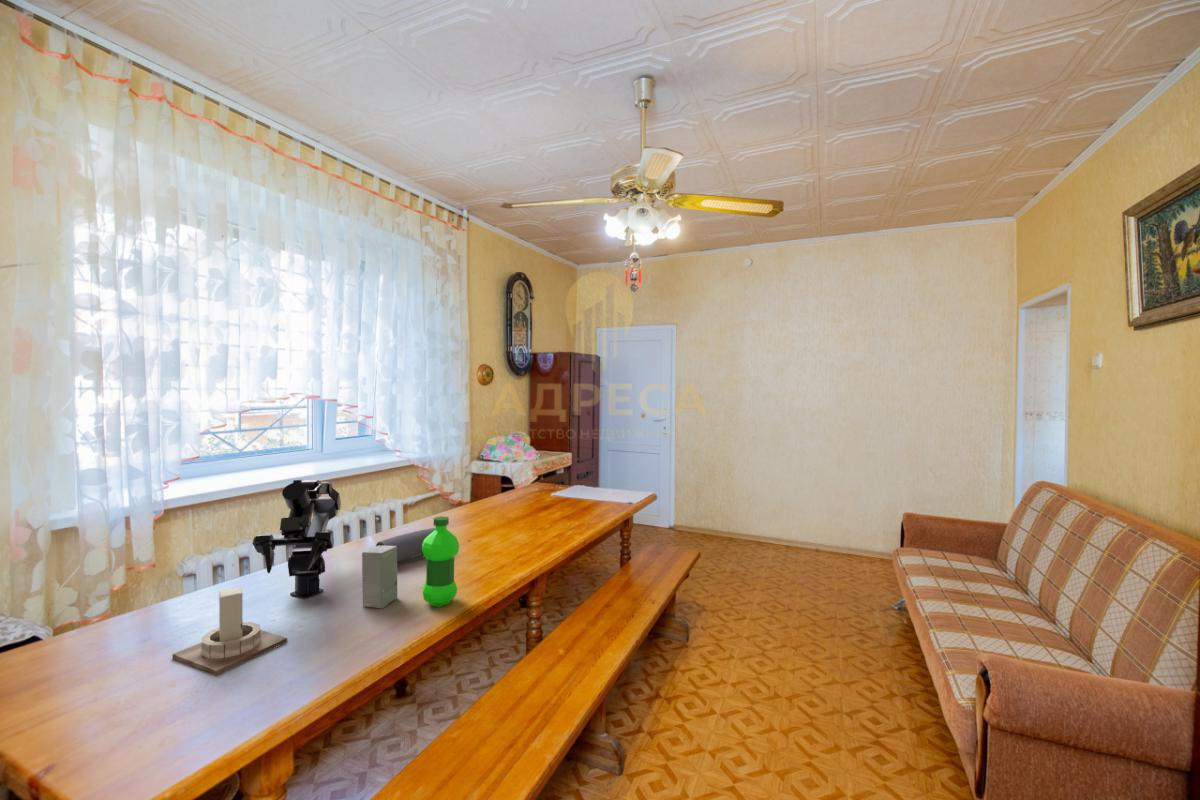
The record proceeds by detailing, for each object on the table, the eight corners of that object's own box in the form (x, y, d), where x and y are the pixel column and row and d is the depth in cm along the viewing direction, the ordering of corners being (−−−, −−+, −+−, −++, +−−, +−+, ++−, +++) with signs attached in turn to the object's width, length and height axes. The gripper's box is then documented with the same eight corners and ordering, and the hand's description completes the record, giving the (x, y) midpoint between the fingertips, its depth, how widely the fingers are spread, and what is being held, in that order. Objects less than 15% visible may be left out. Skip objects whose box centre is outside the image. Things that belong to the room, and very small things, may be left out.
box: (243, 647, 120) (243, 593, 120) (219, 652, 117) (220, 597, 117) (241, 638, 124) (241, 586, 124) (218, 643, 122) (219, 590, 121)
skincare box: (382, 609, 144) (382, 553, 144) (359, 606, 146) (360, 551, 145) (399, 597, 153) (399, 545, 152) (377, 595, 154) (378, 543, 153)
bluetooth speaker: (428, 550, 197) (429, 524, 196) (444, 555, 191) (444, 528, 191) (373, 566, 178) (373, 537, 178) (388, 572, 173) (388, 542, 172)
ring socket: (172, 658, 117) (172, 641, 116) (244, 628, 131) (244, 613, 131) (216, 675, 110) (216, 657, 110) (286, 642, 125) (287, 625, 125)
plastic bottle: (438, 613, 142) (439, 525, 142) (413, 604, 148) (414, 518, 147) (465, 601, 151) (466, 517, 150) (440, 593, 156) (442, 512, 156)
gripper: (255, 505, 137) (238, 560, 127) (331, 502, 143) (322, 554, 132) (265, 526, 145) (250, 579, 135) (337, 522, 150) (328, 573, 140)
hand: (288, 571), depth 135 cm, fingers open, 9 cm apart
